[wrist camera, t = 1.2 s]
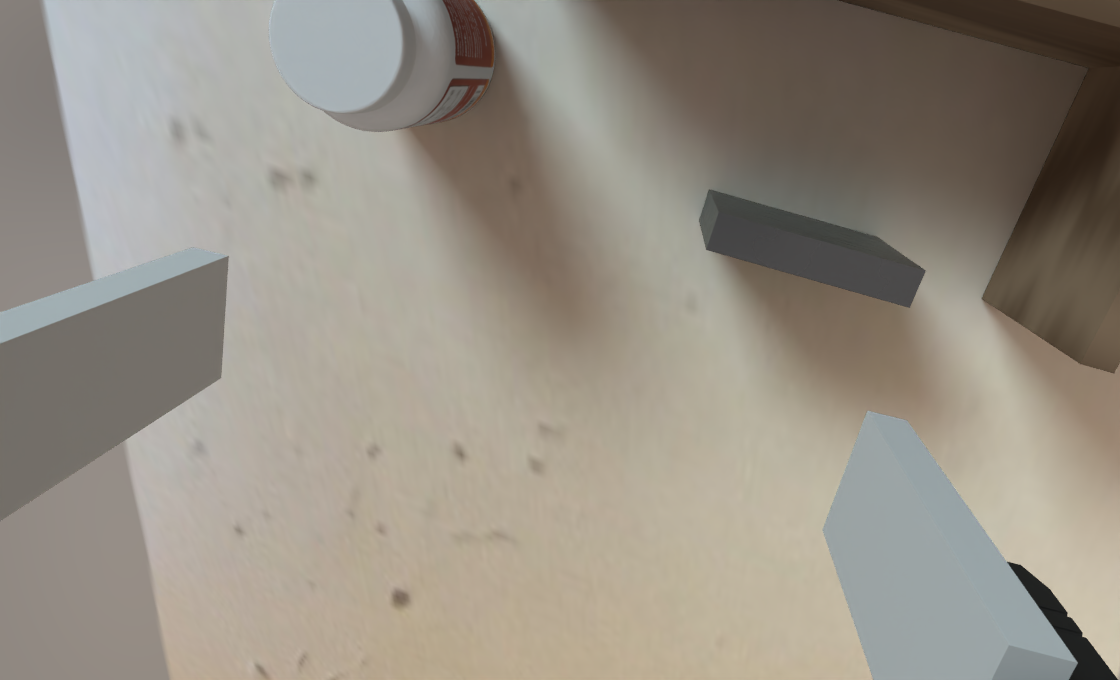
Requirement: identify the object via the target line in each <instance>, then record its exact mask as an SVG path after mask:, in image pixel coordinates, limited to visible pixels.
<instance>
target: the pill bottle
mask: <svg viewBox="0 0 1120 680" xmlns="http://www.w3.org/2000/svg"><path fill="white" fill-rule="evenodd" d="M269 41H270V48H271V52H272V56H273V59H274V62H275V64H276V66H277V68H278V71H279V73H280V75H281V76H282V78H283V79H284V81H285V82H286V84H287V85H288V86H289V87H290V88H291V89H292V91H293V92H294V93H295V94H296V95H297V96H299V97H300V98H301V99H302V100H304V101H305V102H307V103H308V104H310V105H312V106H313V107H315V108H318V109H320V110H323V111H324V112H325V113H326V114H328V115H329V116H330V117H332V118H333V119H335V120H337V121H338V122H340V123H342V124H344V125H347V126H349V127H352V128H355V129H359V130H363V131H371V132H384V131H393V130H398V129H403V128H409V127H414V126H421V125H426V124H433V123H438V122H443V121H447V120H451V119H454V118H456V117H459V116H460V115H462V114H464V113H466V112H467V111H469V110H470V109H471V108H472V107H473V106H474V105H475V104H476V103H477V102H478V101H479V100H480V99H481V97H482V96H483V95H484V93H485V92H486V90H487V88H488V86H489V83H490V81H491V78H492V75H493V70H494V65H495V46H494V40H493V35H492V31H491V28H490V25H489V23H488V20H487V18H486V16H485V15H484V13H483V11H482V10H481V8H480V7H479V5H478V4H477V3H476V2H475V1H474V0H275V2H274V4H273V7H272V11H271V14H270V21H269Z"/></svg>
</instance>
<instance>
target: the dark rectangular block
mask: <svg viewBox="0 0 1120 680" xmlns="http://www.w3.org/2000/svg"><path fill="white" fill-rule="evenodd" d="M699 222H700V226H701V231H702V235H703V239H704V243H705V247H706V250H709V251H713V252H716V253H720V254H723V255H727V256H730V257H734V258H737V259H741V260H744V261H748V262H751V263H755V264H758V265H762V266H765V267H769V268H772V269H776V270H779V271H783V272H786V273H790V274H793V275H797V276H800V277H804V278H807V279H811V280H814V281H818V282H821V283H825V284H828V285H832V286H835V287H839V288H842V289H846V290H849V291H853V292H856V293H860V294H863V295H867V296H870V297H874V298H877V299H881V300H884V301H888V302H891V303H895V304H898V305H902V306H905V307H909V308H910V306H911V303H912V301H913V299H914V296H915V294H916V292H917V290H918V287H919V285H920V283H921V280H922V278H923V276H924V273H925V270H924V269H923V268H921V267H920V266H918V265H917V264H915V263H914V262H913V261H911V260H910V259H908V258H907V257H905V256H904V255H902V254H901V253H900V252H898V251H897V250H895V249H894V248H892V247H891V246H890V245H888V244H887V243H885V242H884V241H882V240H881V239H880V238H878V237H876V236H872V235H868V234H865V233H861V232H858V231H854V230H851V229H847V228H844V227H840V226H837V225H833V224H829V223H826V222H822V221H819V220H815V219H812V218H808V217H805V216H801V215H798V214H794V213H790V212H787V211H783V210H780V209H776V208H773V207H769V206H766V205H762V204H759V203H755V202H751V201H748V200H744V199H741V198H737V197H734V196H730V195H727V194H723V193H720V192H716V191H712V190H709V192H708V195H707V198H706V201H705V204H704V207H703V210H702V213H701V216H700V219H699Z"/></svg>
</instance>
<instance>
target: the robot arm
mask: <svg viewBox="0 0 1120 680" xmlns="http://www.w3.org/2000/svg"><path fill="white" fill-rule="evenodd" d="M228 257H229V256H227V255H223V254H219V253H215V252H211V251H206V250H202V249H198V248H194V247H193V248H190V249H187V250H184V251H181V252H178V253H175V254H172V255H169V256H166V257H163V258H160V259H157V260H154V261H151V262H148V263H145V264H142V265H139V266H137V267H134V268H131V269H128V270H125V271H122V272H119V273H116V274H113V275H110V276H107V277H104V278H101V279H98V280H95V281H92V282H89V283H86V284H83V285H80V286H77V287H74V288H71V289H69V290H65V291H63V292H60V293H57V294H53V295H51V296H48V297H45V298H42V299H39V300H36V301H33V302H30V303H27V304H24V305H21V306H18V307H15V308H12V309H9V310H6V311H3V312H0V521H1V520H3V519H4V518H6V517H7V516H9V515H10V514H12V513H13V512H15V511H16V510H18V509H19V508H21V507H23V506H24V505H26V504H27V503H29V502H30V501H32V500H33V499H35V498H37V497H38V496H39V495H41V494H43V493H44V492H46V491H47V490H49V489H50V488H52V487H53V486H55V485H57V484H58V483H60V482H61V481H63V480H64V479H66V478H67V477H69V476H70V475H72V474H74V473H75V472H77V471H78V470H79V469H81V468H83V467H84V466H86V465H87V464H89V463H90V462H92V461H94V460H95V459H97V458H98V457H100V456H101V455H103V454H104V453H106V452H107V451H109V450H111V449H112V448H114V447H115V446H117V445H118V444H120V443H121V442H123V441H124V440H126V439H128V438H129V437H131V436H132V435H134V434H135V433H137V432H138V431H140V430H141V429H143V428H145V427H146V426H148V425H149V424H151V423H152V422H154V421H155V420H157V419H158V418H160V417H162V416H163V415H165V414H166V413H168V412H169V411H171V410H172V409H174V408H175V407H177V406H178V405H180V404H182V403H183V402H185V401H186V400H188V399H189V398H191V397H192V396H194V395H195V394H197V393H199V392H200V391H202V390H203V389H205V388H206V387H208V386H209V385H211V384H212V383H214V382H216V381H217V380H219V379H220V378H221V372H222V356H223V339H224V323H225V307H226V290H227V274H228ZM823 533H824V536H825V539H826V542H827V545H828V548H829V551H830V554H831V557H832V560H833V562H834V565H835V568H836V571H837V574H838V577H839V580H840V583H841V586H842V589H843V592H844V595H845V598H846V601H847V604H848V607H849V609H850V612H851V615H852V618H853V621H854V624H855V627H856V630H857V633H858V636H859V639H860V642H861V645H862V648H863V651H864V654H865V656H866V659H867V662H868V665H869V668H870V671H871V674H872V677H873V680H1118V679H1117V678H1116V677H1115V675H1114V674H1113V673H1112V671H1111V670H1110V669H1109V667H1108V666H1107V665H1106V663H1105V662H1104V661H1103V659H1102V658H1101V657H1100V655H1099V654H1098V653H1097V651H1096V650H1095V649H1094V647H1093V646H1092V645H1091V643H1090V642H1089V641H1088V639H1087V638H1084V637H1082V631H1081V630H1080V629H1079V627H1078V626H1077V625H1076V623H1075V622H1074V621H1073V619H1072V618H1070V617H1067V614H1068V613H1067V611H1066V610H1065V609H1064V607H1063V606H1062V605H1061V603H1060V602H1059V601H1058V599H1057V598H1056V597H1055V595H1054V594H1053V593H1052V591H1051V590H1050V589H1049V588H1048V587H1047V586H1045V585H1044V584H1043V583H1042V582H1040V581H1039V580H1038V579H1037V578H1036V577H1034V576H1033V575H1032V574H1031V573H1030V572H1028V571H1027V570H1026V569H1025V568H1024V567H1022V566H1021V565H1018V564H1014V563H1010V562H1006V560H1005V559H1004V557H1003V556H1002V555H1001V553H1000V552H999V550H998V549H997V547H996V546H995V545H994V543H993V542H992V540H991V539H990V538H989V536H988V535H987V533H986V532H985V530H984V529H983V528H982V526H981V525H980V523H979V522H978V520H977V519H976V518H975V516H974V515H973V513H972V512H971V511H970V509H969V508H968V506H967V505H966V503H965V502H964V501H963V499H962V498H961V496H960V495H959V494H958V492H957V491H956V489H955V488H954V486H953V485H952V484H951V482H950V481H949V479H948V478H947V476H946V475H945V474H944V472H943V471H942V469H941V468H940V467H939V465H938V464H937V462H936V461H935V459H934V458H933V457H932V455H931V454H930V452H929V451H928V450H927V448H926V447H925V445H924V444H923V442H922V441H921V440H920V438H919V437H918V435H917V434H916V433H915V431H914V430H913V428H912V427H911V425H910V424H909V423H908V421H907V420H904V419H900V418H895V417H891V416H887V415H883V414H879V413H875V412H871V411H867V413H866V416H865V418H864V421H863V424H862V426H861V429H860V432H859V434H858V437H857V440H856V442H855V445H854V448H853V450H852V453H851V456H850V458H849V461H848V464H847V466H846V469H845V472H844V474H843V477H842V480H841V482H840V485H839V488H838V490H837V493H836V495H835V498H834V501H833V503H832V506H831V509H830V511H829V514H828V517H827V519H826V522H825V525H824V527H823Z"/></svg>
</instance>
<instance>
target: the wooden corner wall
mask: <svg viewBox="0 0 1120 680" xmlns="http://www.w3.org/2000/svg"><path fill="white" fill-rule="evenodd" d="M839 1H843V2H847V3H850V4H854V5H858V6H861V7H865V8H869V9H873V10H876V11H880V12H884V13H887V14H891V15H895V16H899V17H902V18H906V19H910V20H913V21H917V22H921V23H925V24H928V25H932V26H936V27H939V28H943V29H947V30H951V31H954V32H958V33H962V34H965V35H969V36H973V37H977V38H980V39H984V40H988V41H991V42H995V43H999V44H1003V45H1006V46H1010V47H1014V48H1017V49H1021V50H1025V51H1028V52H1032V53H1036V54H1040V55H1043V56H1047V57H1051V58H1054V59H1058V60H1062V61H1066V62H1069V63H1073V64H1077V65H1080V66H1084V67H1088V68H1089V70H1088V72H1087V74H1086V76H1085V78H1084V81H1083V83H1082V85H1081V87H1080V89H1079V91H1078V93H1077V96H1076V98H1075V100H1074V102H1073V104H1072V106H1071V108H1070V111H1069V113H1068V115H1067V117H1066V119H1065V121H1064V123H1063V126H1062V128H1061V130H1060V132H1059V134H1058V136H1057V138H1056V141H1055V143H1054V145H1053V147H1052V149H1051V151H1050V153H1049V155H1048V158H1047V160H1046V162H1045V164H1044V166H1043V168H1042V170H1041V173H1040V175H1039V177H1038V179H1037V181H1036V183H1035V185H1034V188H1033V190H1032V192H1031V194H1030V196H1029V198H1028V200H1027V203H1026V205H1025V207H1024V209H1023V211H1022V213H1021V215H1020V218H1019V220H1018V222H1017V224H1016V226H1015V228H1014V230H1013V233H1012V235H1011V237H1010V239H1009V241H1008V243H1007V245H1006V248H1005V250H1004V252H1003V254H1002V256H1001V258H1000V260H999V263H998V265H997V267H996V269H995V271H994V273H993V275H992V278H991V280H990V282H989V284H988V286H987V288H986V290H985V293H984V295H983V297H982V299H983V300H985V301H986V302H988V303H989V304H991V305H992V306H994V307H995V308H997V309H998V310H1000V311H1001V312H1003V313H1004V314H1006V315H1007V316H1009V317H1010V318H1012V319H1013V320H1015V321H1016V322H1018V323H1019V324H1021V325H1022V326H1024V327H1025V328H1027V329H1028V330H1030V331H1031V332H1033V333H1034V334H1036V335H1037V336H1039V337H1040V338H1042V339H1044V340H1045V341H1047V342H1048V343H1050V344H1051V345H1053V346H1054V347H1056V348H1057V349H1059V350H1060V351H1062V352H1063V353H1065V354H1066V355H1068V356H1069V357H1071V358H1072V359H1074V360H1075V361H1077V362H1078V363H1080V364H1083V365H1086V366H1090V367H1093V368H1097V369H1100V370H1104V371H1107V372H1111V373H1114V372H1115V371H1116V369H1117V367H1118V365H1119V363H1120V0H839Z"/></svg>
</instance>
